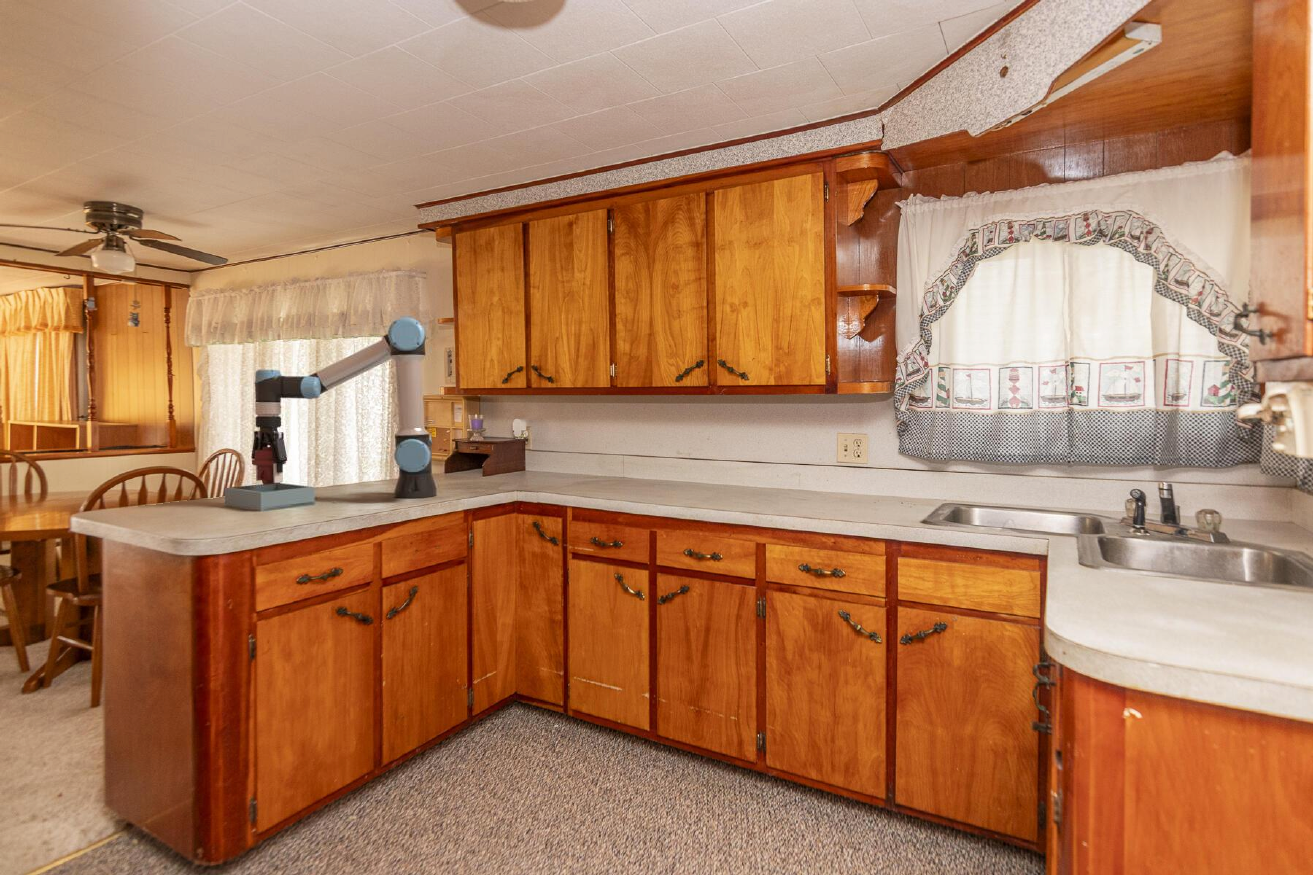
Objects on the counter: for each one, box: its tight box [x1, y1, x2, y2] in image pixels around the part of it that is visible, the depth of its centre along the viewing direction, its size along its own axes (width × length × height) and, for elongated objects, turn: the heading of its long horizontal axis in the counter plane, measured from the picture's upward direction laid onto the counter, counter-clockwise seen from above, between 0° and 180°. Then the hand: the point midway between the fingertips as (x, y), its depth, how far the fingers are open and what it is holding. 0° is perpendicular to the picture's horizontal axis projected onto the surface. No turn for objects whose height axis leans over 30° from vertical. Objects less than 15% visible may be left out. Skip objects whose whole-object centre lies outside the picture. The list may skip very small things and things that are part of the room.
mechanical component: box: [251, 446, 287, 485], centre depth 231 cm, size 12×10×10 cm
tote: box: [224, 482, 315, 512], centre depth 232 cm, size 22×18×6 cm
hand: (269, 481), depth 231 cm, fingers closed on mechanical component, 10 cm apart
